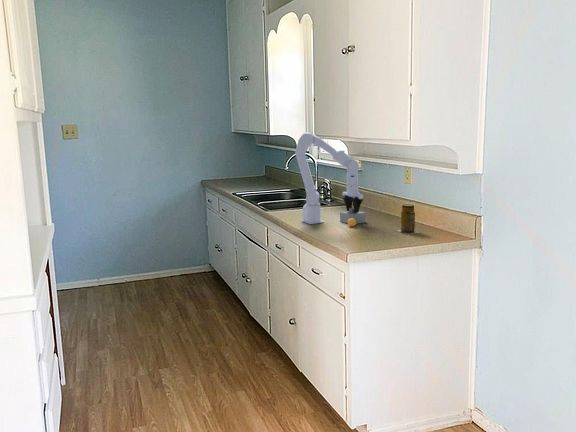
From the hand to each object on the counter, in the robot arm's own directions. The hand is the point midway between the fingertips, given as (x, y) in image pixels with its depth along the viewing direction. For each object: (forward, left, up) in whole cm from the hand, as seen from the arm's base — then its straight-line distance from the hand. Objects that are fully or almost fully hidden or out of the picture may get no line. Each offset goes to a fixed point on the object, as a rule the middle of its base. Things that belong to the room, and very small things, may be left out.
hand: (352, 211), depth 279 cm
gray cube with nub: (0, 0, -5) cm, 5 cm away
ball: (+9, -7, -3) cm, 12 cm away
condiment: (+34, +6, -5) cm, 35 cm away
